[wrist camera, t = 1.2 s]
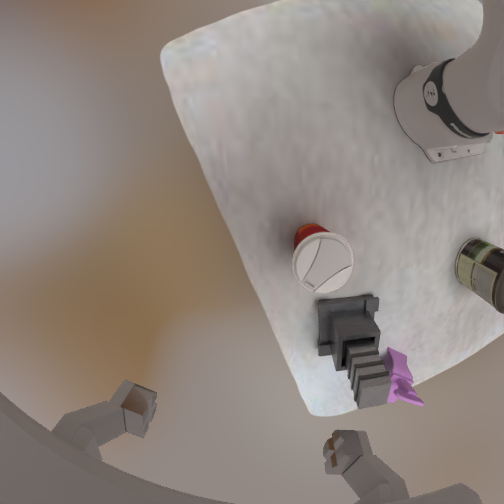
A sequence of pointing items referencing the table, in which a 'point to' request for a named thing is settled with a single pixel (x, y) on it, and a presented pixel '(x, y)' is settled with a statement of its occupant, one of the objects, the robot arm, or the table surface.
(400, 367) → the toy chair
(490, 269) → the coffee can
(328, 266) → the paper cup
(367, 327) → the stand
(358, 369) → the column
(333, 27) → the table surface
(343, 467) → the robot arm
